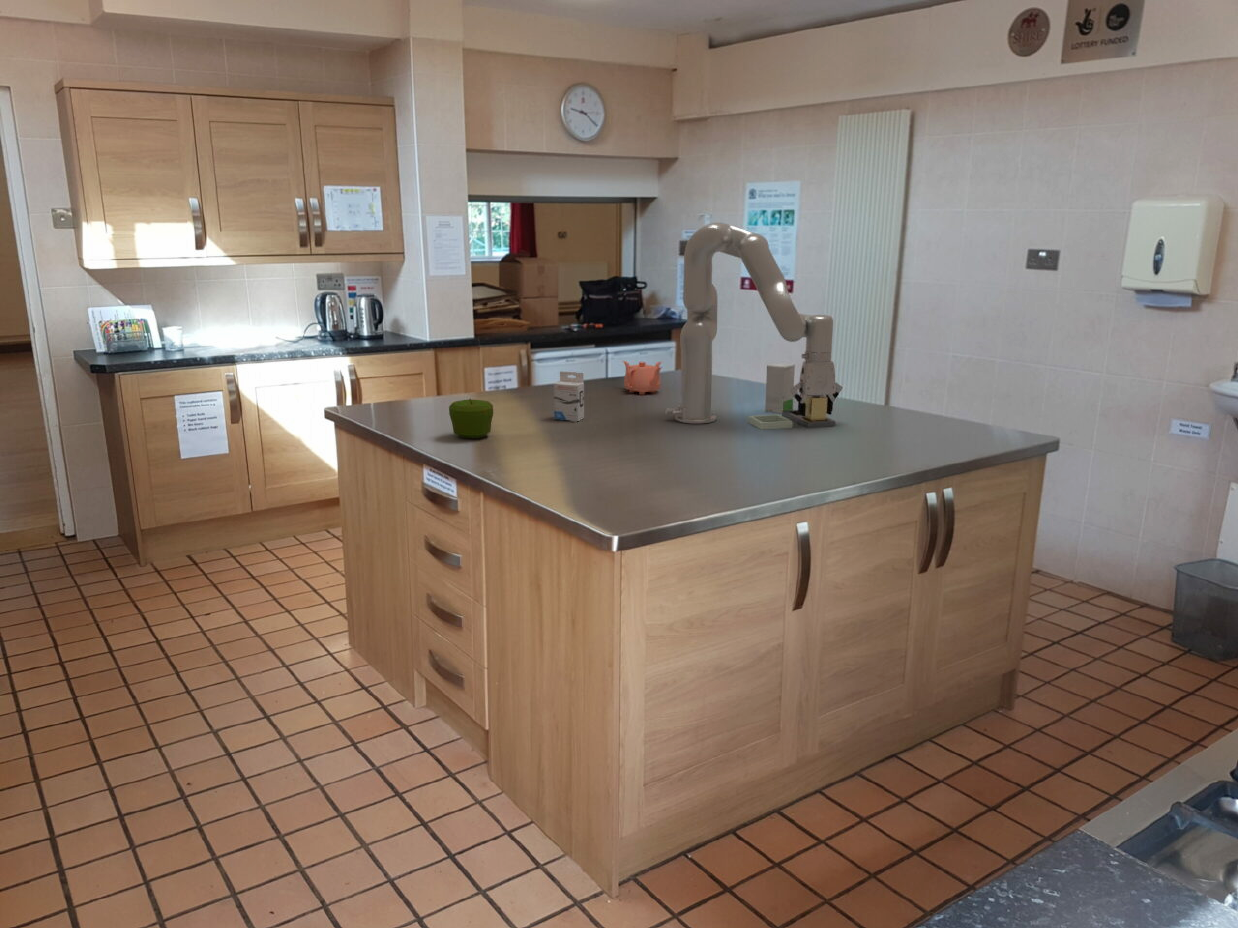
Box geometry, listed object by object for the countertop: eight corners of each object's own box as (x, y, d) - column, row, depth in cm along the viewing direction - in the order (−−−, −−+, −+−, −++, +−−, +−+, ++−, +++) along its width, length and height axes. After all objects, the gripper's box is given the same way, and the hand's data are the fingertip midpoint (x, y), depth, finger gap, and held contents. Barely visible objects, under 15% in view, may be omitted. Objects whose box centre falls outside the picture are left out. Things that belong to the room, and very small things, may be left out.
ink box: (553, 420, 289) (552, 373, 286) (560, 416, 294) (559, 371, 290) (578, 422, 287) (578, 375, 283) (584, 418, 291) (584, 372, 287)
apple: (450, 442, 261) (448, 403, 258) (450, 432, 273) (449, 395, 270) (494, 441, 263) (493, 402, 260) (493, 431, 275) (492, 393, 272)
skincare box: (781, 415, 295) (784, 367, 291) (763, 412, 299) (765, 365, 295) (793, 411, 302) (796, 363, 298) (775, 408, 306) (777, 361, 302)
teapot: (622, 388, 341) (622, 358, 338) (661, 388, 340) (661, 359, 338) (621, 396, 327) (621, 365, 324) (662, 396, 326) (662, 365, 324)
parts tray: (761, 431, 274) (761, 423, 273) (748, 424, 283) (748, 416, 283) (792, 429, 277) (792, 421, 276) (778, 422, 286) (778, 414, 285)
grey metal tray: (807, 430, 276) (807, 422, 275) (781, 417, 293) (782, 410, 292) (834, 428, 278) (835, 421, 277) (808, 415, 295) (808, 409, 294)
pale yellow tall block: (810, 426, 278) (812, 398, 276) (803, 422, 283) (804, 395, 280) (825, 425, 279) (827, 397, 277) (818, 421, 284) (819, 394, 282)
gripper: (796, 360, 270) (793, 418, 274) (850, 357, 274) (847, 415, 279) (785, 356, 277) (783, 413, 281) (838, 354, 281) (835, 410, 286)
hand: (815, 414), depth 280 cm, fingers open, 8 cm apart
